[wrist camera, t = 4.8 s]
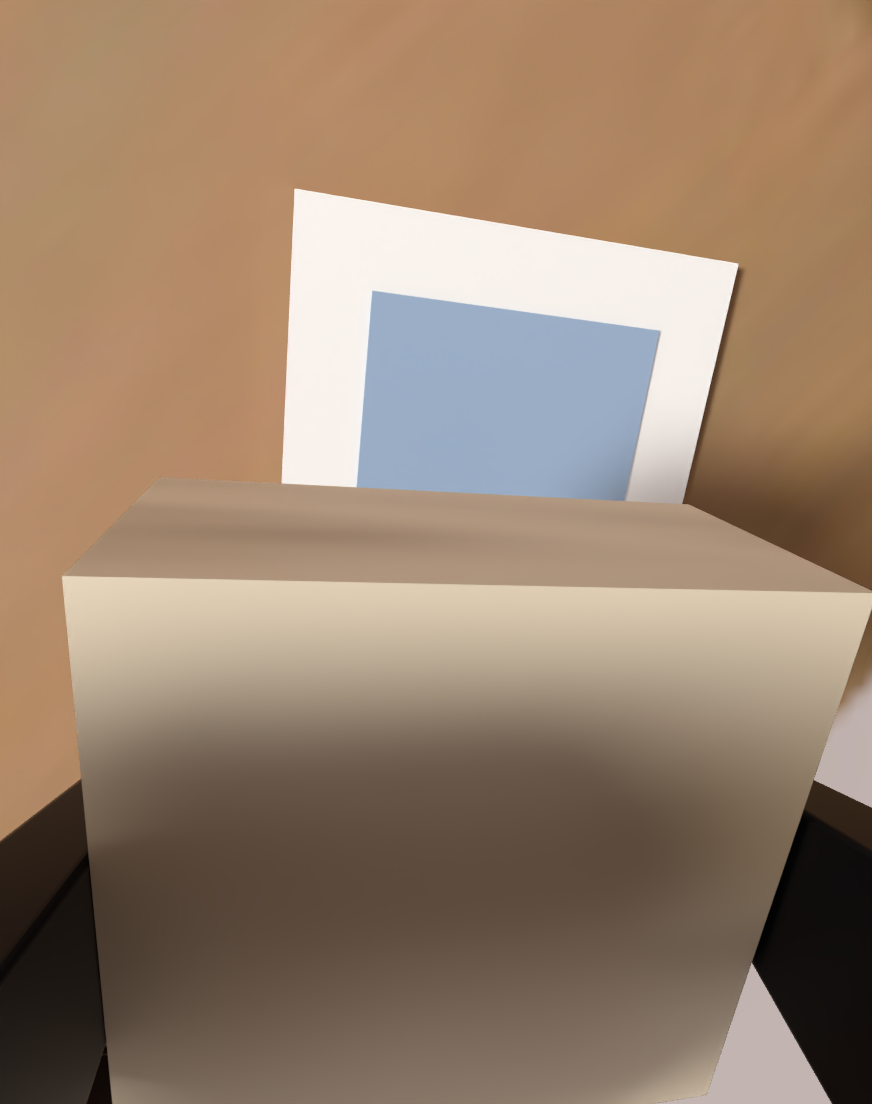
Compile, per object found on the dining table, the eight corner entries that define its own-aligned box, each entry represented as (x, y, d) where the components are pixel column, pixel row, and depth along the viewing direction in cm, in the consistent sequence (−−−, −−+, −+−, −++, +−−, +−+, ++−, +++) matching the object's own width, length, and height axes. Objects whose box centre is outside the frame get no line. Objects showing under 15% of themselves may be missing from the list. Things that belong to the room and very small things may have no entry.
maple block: (600, 889, 10) (706, 1094, 8) (178, 925, 9) (119, 1189, 6) (688, 503, 8) (876, 594, 6) (159, 476, 7) (63, 575, 4)
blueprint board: (639, 648, 22) (648, 656, 21) (275, 640, 19) (274, 649, 19) (727, 265, 18) (740, 263, 18) (295, 193, 16) (294, 188, 15)
